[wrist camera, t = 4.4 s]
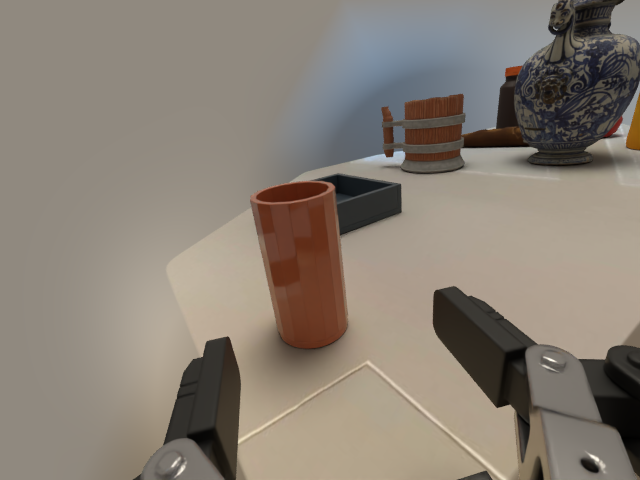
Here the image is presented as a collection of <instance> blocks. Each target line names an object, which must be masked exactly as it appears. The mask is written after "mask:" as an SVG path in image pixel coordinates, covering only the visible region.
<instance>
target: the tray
mask: <svg viewBox="0 0 640 480" xmlns="http://www.w3.org/2000/svg"><path fill="white" fill-rule="evenodd" d="M311 181H324V182H328V183H332V184H333V185H334V186H335V191H336V201H337V211H338V221H339V232H340V234H343V233H346V232H348V231H351V230H354V229H356V228H359V227H362V226H364V225H367V224H370V223H372V222H375V221H378V220H380V219H383V218H386V217H388V216H391V215H394V214H396V213H399V212H401V184H398V183H392V182H386V181H380V180H374V179H368V178H362V177H356V176H351V175H345V174H339V173H338V174H334V175H330V176H326V177H322V178H318V179H315V180H311Z"/></svg>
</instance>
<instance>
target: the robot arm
mask: <svg viewBox="0 0 640 480" xmlns="http://www.w3.org/2000/svg"><path fill="white" fill-rule="evenodd" d="M433 327H434V330H435V332H436V335H437V336H438V338H439V339H440V340H441V341H442V343H443V344H444V345H445V346H446V347H447V349H448V350H449V351H450V352H451V353H452V355H453V356H454V357H455V358H456V359H457V361H458V362H459V363H460V364H461V365H462V367H463V368H464V369H465V370H466V371H467V373H468V374H469V375H470V376H471V377H472V379H473V380H474V381H475V382H476V383H477V385H478V386H479V387H480V388H481V389H482V391H483V392H484V393H485V394H486V395H487V397H488V398H489V399H490V400H491V401H492V403H493V404H494V405H495V406H496V407H497V408H499V407H503V406H506V405H509V404H510V405H511V406H512V407H513V408H514V409H515V413H514V422H515V434H516V445H517V457H518V469H519V480H637V478H636V475H635V473H636V474H637V475H638V476H639V477H640V348H637V347H632V346H624V345H621V346H614V347H612V348H610V349H609V350H608V353H607V356H606V359H605V360H597V359H577V358H576V357H575V356H573V355H572V354H570V353H569V352H567V351H565V350H563V349H560V348H558V347H555V346H550V345H541V344H540V345H538V344H537V343H535V342H534V341H533V340H532V339H530V338H529V337H528V336H527V335H525V334H524V333H523V332H522V331H520V330H519V329H518V328H517V327H515V326H514V325H513V324H512V323H510V322H509V321H508V320H507V319H504V317H503V316H502V315H500V314H499V313H498V312H495V310H494V309H493V308H492V307H490V306H489V305H488V304H487V303H485V302H484V301H482V300H479V299H477V298H475V297H473V296H467V295H465V294H464V293H463V292H462V291H461V290H459V289H458V288H457V287H455V286H453V287H448V288H444V289H439V290H436V291H435V292H434V298H433ZM240 390H241V380H240V372H239V368H238V364H237V361H236V358H235V354H234V351H233V348H232V344H231V341H230V338H229V337H228V336H227V337H223V338H219V339H214V340H210V341H207V342H206V345H205V349H204V354H203V357H201V358H197V359H193V360H192V362H191V363H190V364H189V366H188V367H187V368H186V370H185V371H184V373H183V376H182V380H181V384H180V388H179V391H178V394H177V399H176V402H175V405H174V409H173V412H172V416H171V419H170V423H169V427H168V430H167V434H166V437H165V441H164V444H163V446H162V447H161V448H159V449H158V450H157V451H156V452H155V453H154V454H153V456H151V457H150V459H149V461H148V462H147V463H146V465H145V466H144V469H143V471H142V474H140V475H139V476H138V477H136V478H135V479H133V480H236V467H237V448H238V429H239V409H240ZM634 472H635V473H634ZM458 480H492V478H491V477H490V475H489V474H488V472H487V471H483V472H480V473H477V474H474V475H471V476H468V477H465V478H461V479H458Z"/></svg>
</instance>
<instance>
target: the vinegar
mask: <svg viewBox="0 0 640 480" xmlns="http://www.w3.org/2000/svg"><path fill="white" fill-rule="evenodd" d="M521 68H522V66H517V67H510V68H506V72H505V76H506V82H505V83H504V84H503V85H502V86H501V88H500V95H499V105H498V116H497V126H496V129H503V128H506V127H519V125H518V121H517V118H516V113H515V106H514V92H515V85H516V80H517V77H518V74H519V72H520V70H521Z"/></svg>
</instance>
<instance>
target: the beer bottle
mask: <svg viewBox="0 0 640 480" xmlns="http://www.w3.org/2000/svg"><path fill="white" fill-rule="evenodd" d="M626 146H627V147H628V148H630V149H636V150H640V93H639V97H638V100H637V104H636V108H635V112H634V115H633V119H632V123H631V126H630V130H629V133H628V136H627V140H626Z"/></svg>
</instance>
